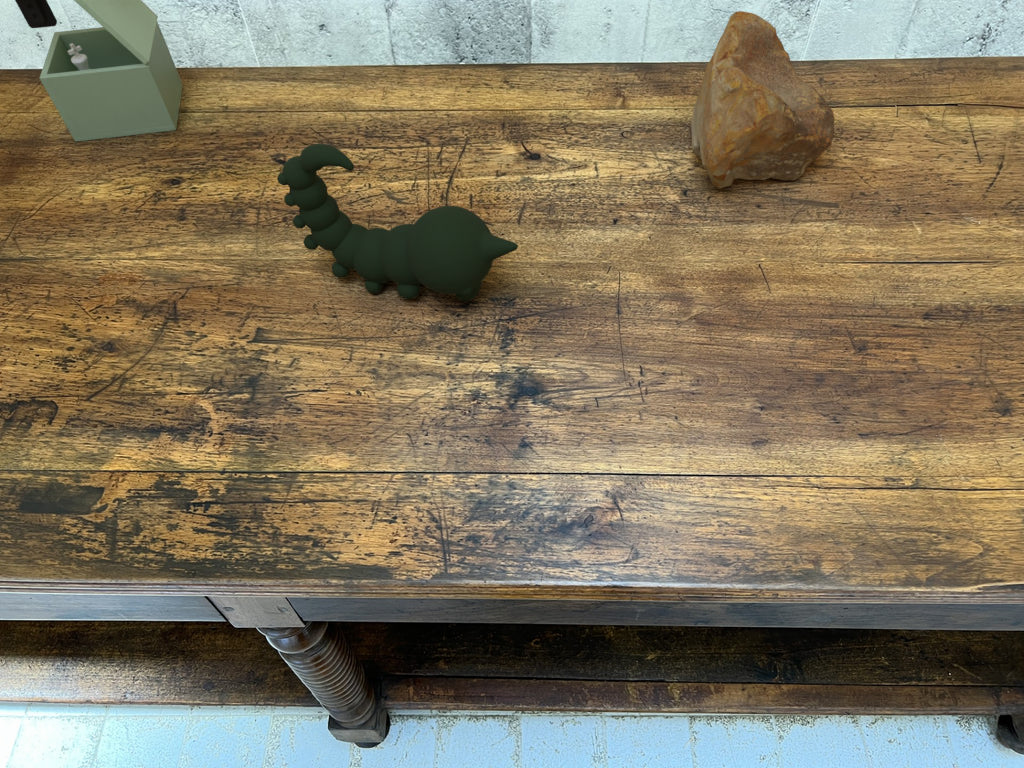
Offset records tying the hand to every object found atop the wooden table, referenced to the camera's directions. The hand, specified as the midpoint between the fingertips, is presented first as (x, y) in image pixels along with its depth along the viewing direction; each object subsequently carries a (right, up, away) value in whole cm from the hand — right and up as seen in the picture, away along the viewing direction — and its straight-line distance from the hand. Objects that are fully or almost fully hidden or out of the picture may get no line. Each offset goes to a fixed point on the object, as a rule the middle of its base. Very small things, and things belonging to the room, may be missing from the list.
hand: (51, 4), depth 102 cm
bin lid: (+6, +1, 0) cm, 6 cm away
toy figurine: (+46, -35, -7) cm, 58 cm away
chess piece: (0, -9, +13) cm, 16 cm away
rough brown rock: (+88, -18, +4) cm, 90 cm away
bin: (+4, -9, +13) cm, 17 cm away
